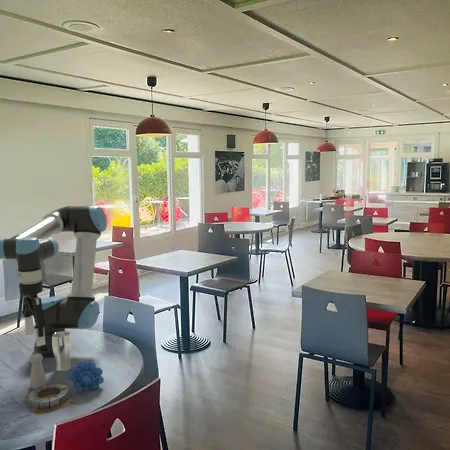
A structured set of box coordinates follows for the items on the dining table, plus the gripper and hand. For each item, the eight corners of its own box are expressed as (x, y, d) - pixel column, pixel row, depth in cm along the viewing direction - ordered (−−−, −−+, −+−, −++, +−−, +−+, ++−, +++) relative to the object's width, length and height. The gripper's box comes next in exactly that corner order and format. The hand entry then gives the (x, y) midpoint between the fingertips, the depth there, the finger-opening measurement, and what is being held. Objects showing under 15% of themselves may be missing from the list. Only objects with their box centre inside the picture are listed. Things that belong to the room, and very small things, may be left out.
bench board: (24, 399, 158) (24, 396, 158) (59, 388, 166) (59, 385, 166) (38, 419, 146) (37, 415, 146) (75, 406, 153) (75, 403, 153)
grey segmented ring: (25, 398, 157) (24, 390, 156) (61, 387, 164) (61, 379, 164) (35, 413, 147) (34, 404, 147) (74, 400, 154) (73, 392, 154)
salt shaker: (33, 385, 169) (30, 351, 167) (49, 384, 169) (46, 351, 167) (27, 393, 163) (24, 358, 161) (44, 392, 163) (41, 357, 162)
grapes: (69, 400, 157) (67, 367, 155) (70, 391, 163) (68, 359, 162) (104, 395, 160) (102, 362, 159) (104, 386, 167) (102, 355, 165)
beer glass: (76, 368, 182) (74, 331, 180) (65, 375, 176) (62, 338, 174) (62, 365, 185) (59, 330, 183) (50, 373, 178) (47, 336, 176)
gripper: (10, 277, 168) (15, 332, 171) (29, 290, 149) (34, 353, 152) (31, 273, 173) (36, 327, 176) (52, 286, 153) (57, 347, 156)
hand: (35, 339), depth 164 cm, fingers open, 13 cm apart
